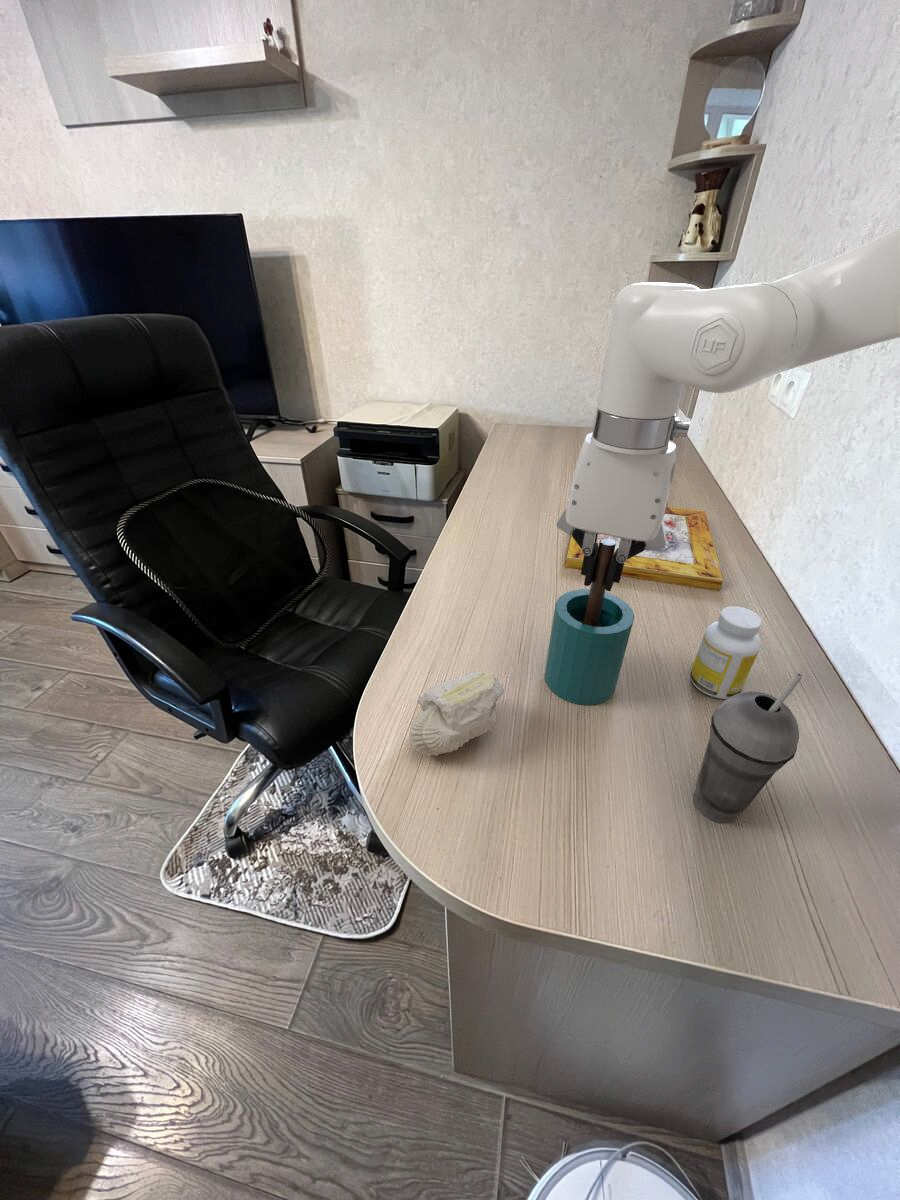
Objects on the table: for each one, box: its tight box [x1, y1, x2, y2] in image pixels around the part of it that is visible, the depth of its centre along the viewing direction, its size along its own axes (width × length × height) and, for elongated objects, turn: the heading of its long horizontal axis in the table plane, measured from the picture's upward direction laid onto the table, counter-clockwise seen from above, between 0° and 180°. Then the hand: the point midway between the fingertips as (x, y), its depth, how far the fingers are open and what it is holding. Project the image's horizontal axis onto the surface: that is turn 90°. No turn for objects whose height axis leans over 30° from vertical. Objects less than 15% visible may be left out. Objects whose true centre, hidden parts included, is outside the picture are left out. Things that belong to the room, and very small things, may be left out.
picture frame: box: [564, 506, 724, 592], centre depth 103 cm, size 27×2×30 cm
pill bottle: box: [689, 605, 763, 700], centre depth 66 cm, size 6×6×12 cm
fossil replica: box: [409, 671, 505, 757], centre depth 59 cm, size 12×8×10 cm
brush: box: [578, 539, 616, 627], centre depth 62 cm, size 5×5×17 cm
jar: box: [544, 588, 635, 706], centre depth 66 cm, size 10×10×12 cm
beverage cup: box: [692, 672, 804, 825], centre depth 48 cm, size 7×7×20 cm
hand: (599, 582), depth 61 cm, fingers closed on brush
